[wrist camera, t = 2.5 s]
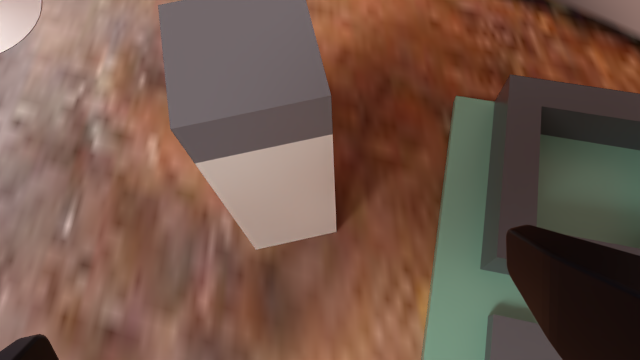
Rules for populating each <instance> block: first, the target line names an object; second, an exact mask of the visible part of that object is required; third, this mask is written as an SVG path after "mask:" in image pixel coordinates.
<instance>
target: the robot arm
mask: <svg viewBox="0 0 640 360" xmlns="http://www.w3.org/2000/svg"><path fill="white" fill-rule="evenodd" d="M506 261H507V269H508V272H509V275H510V277H511V279H512V280H513V282H514V284H515V285H516V287H517V289H518V291H519V292H520V294H521V296H522V297H523V299H524V301H525V302H526V304H527V306H528V307H529V309H530V311H531V312H532V314H533V316H534V318H535V319H536V321H537V323H538V324H539V326H540V328H541V329H542V331H543V333H544V334H545V336H546V337H547V339H548V340H549V342H550V343H551V345H552V346H553V348H554V349H555V350H556V352H557V353H558V354H559V356H560V357H561V358H562V360H640V256H639V255H636V254H632V253H628V252H625V251H621V250H618V249H614V248H611V247H607V246H604V245H600V244H597V243H593V242H589V241H586V240H582V239H579V238H575V237H572V236H568V235H565V234H561V233H558V232H554V231H550V230H547V229H543V228H540V227H536V226H533V225H522V226H518V227H513V228H510V229H509V230H508V231H507V233H506ZM0 360H59V359H58V357H57V355H56V353H55V351H54V349H53V348H52V346H51V344H50V342H49V340H48V339H47V337H46V336H44V335H41V334H37V335H33V336H28V337H24V338H20V339H18V340H16V341H15V342H13V343H12V344H10V345H9V346H7V347H6V348H5V349H3V350H2V351H0Z"/></svg>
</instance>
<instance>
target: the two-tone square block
mask: <svg viewBox="0 0 640 360" xmlns="http://www.w3.org/2000/svg"><path fill="white" fill-rule="evenodd" d="M158 9H159V19H160V29H161V39H162V49H163V60H164V70H165V80H166V90H167V100H168V110H169V120H170V129H171V131H172V132H173V133H174V135H175V136H176V138H177V139H178V140H179V142H180V143H181V145H182V146H183V148H184V149H185V150H186V152H187V153H188V155H189V156H190V157H191V159H192V160H193V162H194V163H195V164H196V166H197V167H198V169H199V170H200V171H201V173H202V174H203V176H204V177H205V179H206V180H207V181H208V183H209V184H210V186H211V187H212V188H213V190H214V191H215V193H216V194H217V195H218V197H219V198H220V200H221V201H222V202H223V204H224V205H225V207H226V208H227V209H228V211H229V212H230V214H231V215H232V217H233V218H234V219H235V221H236V222H237V224H238V225H239V226H240V228H241V229H242V231H243V232H244V233H245V235H246V236H247V238H248V239H249V240H250V242H251V243H252V245H253V246H254V248H255V249H256V250H257V249H261V248H266V247H270V246H275V245H279V244H284V243H288V242H293V241H297V240H302V239H307V238H311V237H316V236H320V235H325V234H329V233H334V232H337V231H336V206H335V181H334V156H333V130H332V105H331V93H330V89H329V86H328V82H327V78H326V74H325V71H324V67H323V63H322V59H321V56H320V52H319V48H318V44H317V41H316V37H315V33H314V29H313V26H312V22H311V18H310V14H309V11H308V7H307V3H306V0H182V1H177V2H172V3H167V4H162V5H158Z"/></svg>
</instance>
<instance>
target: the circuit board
mask: <svg viewBox="0 0 640 360" xmlns="http://www.w3.org/2000/svg"><path fill="white" fill-rule="evenodd" d="M522 225H533V226H536V227H540V228H543V229H547V230H550V231H554V232H558V233H561V234H565V235H568V236H572V237H575V238H579V239H582V240H586V241H589V242H593V243H597V244H600V245H604V246H607V247H611V248H614V249H618V250H621V251H625V252H628V253H632V254H636V255H639V256H640V94H638V93H631V92H624V91H617V90H611V89H604V88H597V87H591V86H584V85H577V84H570V83H564V82H557V81H550V80H544V79H537V78H530V77H523V76H517V75H510V76H509V77H508V79H507V81H506V83H505V84H504V86H503V88H502V90H501V92H500V93H499V95H498V97H497V99H496V100H495V102H493V101H486V100H480V99H474V98H467V97H461V96H456V97H455V100H454V102H453V110H452V118H451V126H450V134H449V142H448V150H447V158H446V166H445V174H444V182H443V190H442V198H441V206H440V214H439V222H438V230H437V237H436V245H435V253H434V261H433V269H432V277H431V285H430V293H429V301H428V309H427V317H426V325H425V333H424V341H423V349H422V357H421V360H562V358H561V357H560V356H559V354H558V353H557V352H556V350H555V349H554V348H553V346H552V345H551V343H550V342H549V340H548V339H547V337H546V336H545V334H544V333H543V331H542V329H541V328H540V326H539V324H538V323H537V321H536V319H535V318H534V316H533V314H532V312H531V311H530V309H529V307H528V306H527V304H526V302H525V301H524V299H523V297H522V296H521V294H520V292H519V291H518V289H517V287H516V285H515V284H514V282H513V280H512V279H511V277H510V275H509V272H508V269H507V261H506V233H507V231H508V230H509V229H510V228H513V227H518V226H522Z"/></svg>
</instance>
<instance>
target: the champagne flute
mask: <svg viewBox="0 0 640 360" xmlns="http://www.w3.org/2000/svg"><path fill="white" fill-rule="evenodd" d="M40 12H41V0H0V53H1V52H3V51H5V50H7V49H9V48H11V47H13V46H14V45H15V44H17V43H18V42H20V41H21V40H22V39H23V38H24V37H25V36H26V35H27V34H28V33H29V32H30V31H31V30H32V28H33V27H34V26H35V24H36V22H37V20H38V18H39V16H40Z"/></svg>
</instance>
